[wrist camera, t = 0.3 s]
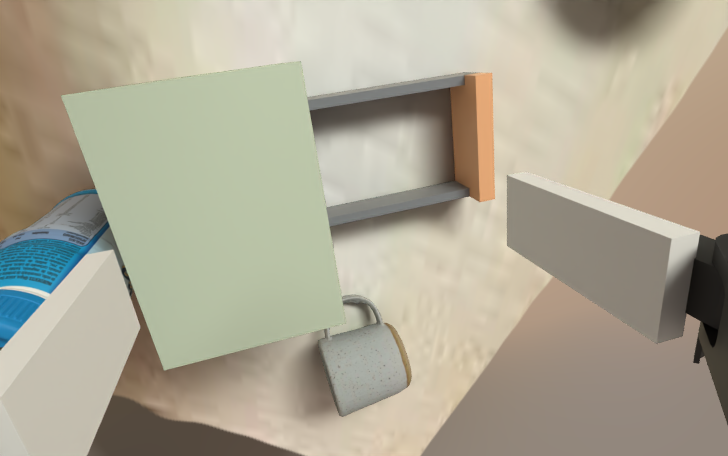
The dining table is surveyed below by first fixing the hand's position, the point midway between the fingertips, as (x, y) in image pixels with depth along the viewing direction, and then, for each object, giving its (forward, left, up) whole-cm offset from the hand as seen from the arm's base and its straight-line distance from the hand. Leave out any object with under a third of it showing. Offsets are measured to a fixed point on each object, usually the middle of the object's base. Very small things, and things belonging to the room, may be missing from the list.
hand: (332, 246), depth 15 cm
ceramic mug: (+23, +3, -27) cm, 35 cm away
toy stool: (+3, -5, -27) cm, 27 cm away
